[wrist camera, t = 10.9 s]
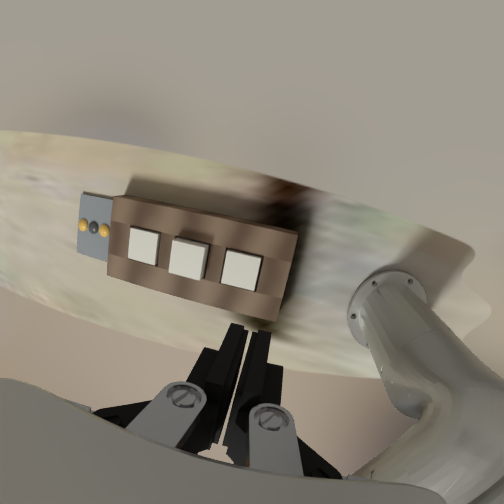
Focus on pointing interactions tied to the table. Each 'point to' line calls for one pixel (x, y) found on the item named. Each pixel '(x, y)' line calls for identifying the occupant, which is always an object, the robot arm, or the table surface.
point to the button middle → (188, 258)
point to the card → (94, 226)
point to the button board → (220, 239)
